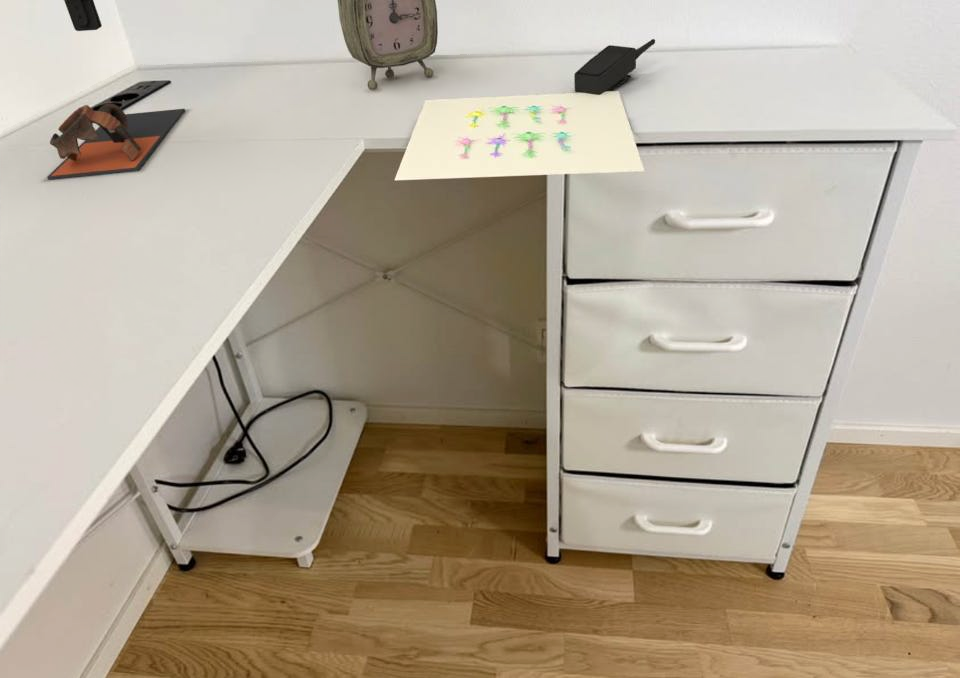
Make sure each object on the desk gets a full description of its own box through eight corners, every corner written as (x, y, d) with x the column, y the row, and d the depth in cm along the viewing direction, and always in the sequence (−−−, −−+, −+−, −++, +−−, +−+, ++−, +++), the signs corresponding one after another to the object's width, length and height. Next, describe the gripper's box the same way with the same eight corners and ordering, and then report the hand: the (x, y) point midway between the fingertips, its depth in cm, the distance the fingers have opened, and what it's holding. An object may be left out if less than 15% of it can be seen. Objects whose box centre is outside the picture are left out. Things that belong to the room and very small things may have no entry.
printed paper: (425, 102, 106) (424, 92, 106) (618, 93, 104) (619, 83, 103) (394, 182, 83) (393, 171, 82) (644, 173, 80) (645, 162, 79)
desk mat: (48, 179, 91) (46, 176, 91) (111, 118, 112) (110, 115, 112) (138, 170, 92) (137, 167, 91) (185, 110, 113) (184, 108, 112)
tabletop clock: (366, 95, 113) (338, -80, 98) (347, 83, 120) (318, -82, 105) (443, 78, 119) (427, -91, 104) (420, 67, 125) (402, -92, 110)
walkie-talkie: (561, 81, 105) (623, 39, 116) (586, 112, 106) (645, 67, 117) (585, 55, 100) (647, 14, 111) (612, 88, 101) (670, 44, 112)
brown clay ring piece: (132, 172, 91) (76, 126, 86) (88, 200, 95) (32, 158, 90) (159, 120, 99) (109, 75, 93) (118, 148, 103) (67, 107, 97)
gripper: (28, -128, 91) (81, 20, 102) (-27, -124, 79) (39, 43, 90) (85, -131, 92) (132, 17, 102) (39, -128, 80) (97, 39, 90)
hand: (88, 28), depth 96 cm, fingers closed
